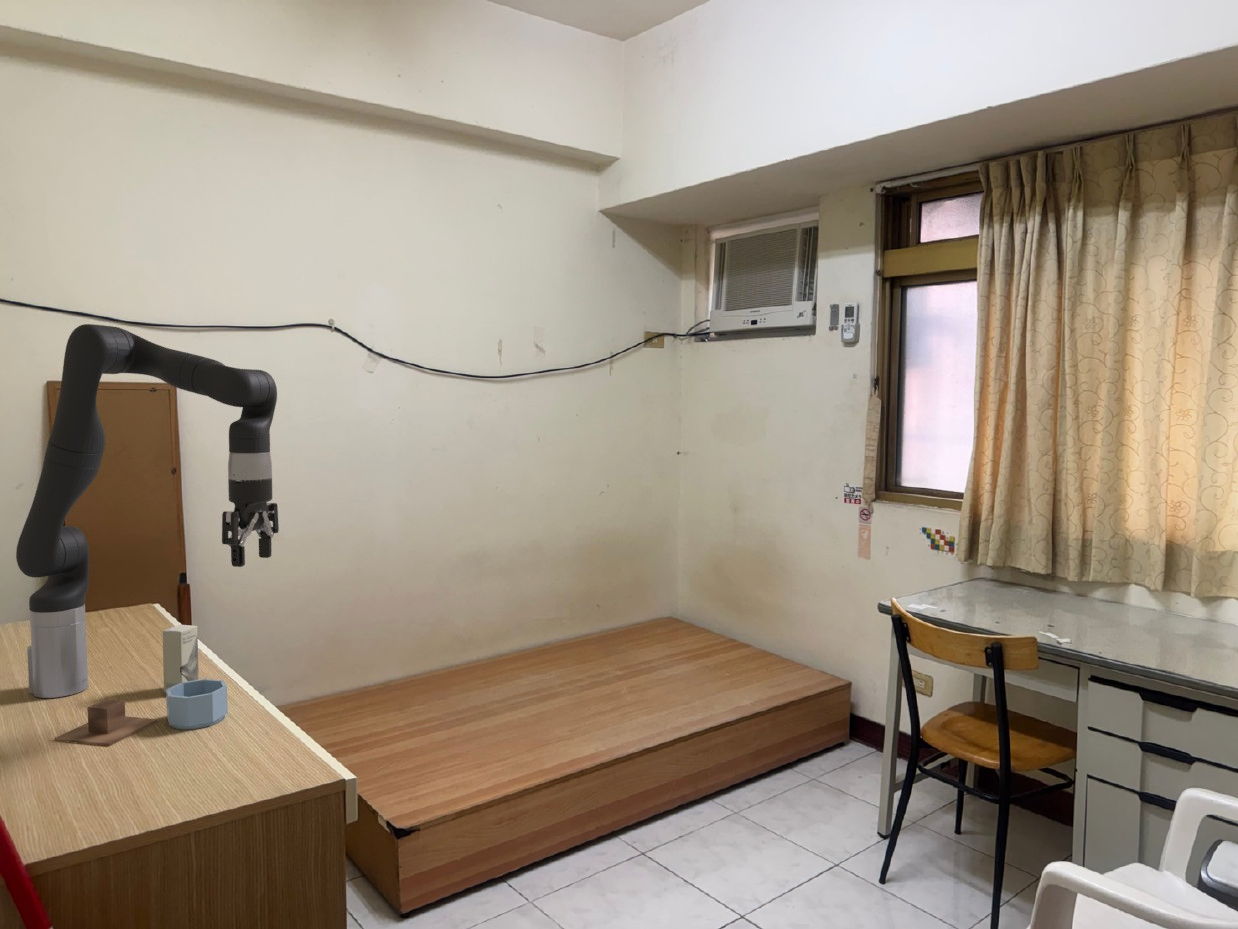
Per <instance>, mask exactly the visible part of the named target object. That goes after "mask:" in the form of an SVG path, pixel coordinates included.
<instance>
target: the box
mask: <svg viewBox="0 0 1238 929" xmlns="http://www.w3.org/2000/svg"><path fill="white" fill-rule="evenodd" d="M198 643H199V642H198V625H189V624H178V625H176V626H172V627H169V628H166V629H164V630H162V656H163V657H162V658H163V659H162V660H163V661H162V662H163V693H166V690H167V689H169V688H171V687H173V686H175V685H177V684H180V683H182V682H188V681H194V680H200V678H199V676H200V675H199V648H198V647H199V644H198Z"/></svg>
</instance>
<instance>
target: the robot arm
mask: <svg viewBox="0 0 1238 929" xmlns="http://www.w3.org/2000/svg"><path fill="white" fill-rule="evenodd" d="M117 374H118V375H119V374H131V375H132V374H134V375H144V376H150V377H153V378H157V379H159V380H161V381H163V382H164V383H165V384H168V385H170V386H172V387H174V388H177V389H179V390H183V391H185V392H189V393H193V394H197V395H199V396H200V395H201V396H205V397H208V398H211V399H212V400H213V401H217V402H218V403H221V404H224V405H227V406H229V407H235V408H242V409H241V414H240V418H239V419H237V420H235V421H233V422H232V423H230V425H229V427H228V461H227V474H228V475H227V481H228V482H227V483H228V484H227V485H228V487H227V489H228V501H229V502H230V503H233V505H234V509H233V511H232V510H231V511H230V510H229V511H227V510H226V511H223V512H222V514H221V515H222V516H221V517H222V518H221V519H222V520H221V521H222V522H221V543H222V545H226V546H229V547H230V557H231V558H230V560H231V561H230V562H231V566H232V567H236V568H242V567H244V566H245V564H246V552H245V551H246V550H245V546H244V545H245V543H246V540H247V538H248V537H249V536H251V534H252V532H253V531H255V532H256V534H257V536H258V537H259V538H258V556H259V558H262V559H264V558H265V559H266V558H267V559H270V558H271V557H272V539H273V538H274V534H278V533H279V530H280V529H279V509H278V503H276V502H271V501H272V500H273V465H272V456H271V432H270V429H271V426H272V422H273V420H274V414H275V410H276V405H277V400H278V388H277V385H276V384H277V383H276V382H275V379H274V378H273V377H272V375H271V374H270V373H269V372H267V371H265V370H262V369H252V368H251V369H247V368H238V367H232V366H227V365H225V364H224V363H223V362H221V361H219V360H216V359H212V358H209V357H205V356H202V355H198V354H195V353H194V354H193V353H190V352H185V351H181V350H176V349H172V348H169V347H165V346H163V345H159V344H156V343H154V342H152V341H150V340H148V339H146V338H144V337H141V336H140V335H137V334H135V333H133V332H130V331H129V330H127V329H124V328H121V327H118V326H113V325H112V326H111V325H104V324H93V323H92V324H91V323H86V324H80V325H78V326H77V327H74V329H73V330H72V332H71V333H70V335H69V337H68V339H67V342H66V346H65V351H64V359H63V366H62V374H61V383H60V391H59V396H58V401H57V404H56V411H55V414H54V418H53V419H54V420H53V424H52V427H51V430H50V435H49V438H48V441H47V444H46V450H45V453H44V458H43V464H42V468H41V473H40V474H39V475H40V476H39V479H38V483H37V487H36V490H35V494H34V497H33V500H32V503H31V507H30V509H29V512H28V514H27V516H26V520H25V522H24V525H23V527H22V530H21V532H20V535H19V538H18V542H17V545H16V552H15V553H16V554H15V559H16V563H17V566H18V568H19V570H20V571H21V572H22V574H24V575H25V576H27V577H29V578H44V577H47V579H46V581H45V583H44V584H43V585H42V586H41V587H40V588H38V589H37V590H36V591H34V593H31V595H30V596H29V599H28V600H29V601H28V602H29V603H28V607H29V622H30V645H29V646H28V647H27V649H26V650H27V655H26V656H27V671H28V672H27V673H28V691H29V692H28V693H29V694H32V695H33V696H34V697H36V698H41V699H53V698H61V697H62V698H63V697H66V696H71V695H72V696H73V695H75V694H77V693H80V692H83V691H85V690H86V689H87V688H89V671H88V647H87V646H88V644H87V642H88V641H87V620H86V594H87V593H88V590H89V585H90V583H89V581H90V578H89V577H90V548H89V543H88V540H87V537H86V536H85V534H84V532H83V531H82V530H81V529H80V528H78V527H77V526H73V525H64V524H65V521H66V519H67V516H68V514H69V512H70V511H71V509H72V508H73V506H74V505H75V504H76V502H77V501H78V500H79V499H80V498H81V496H83V494H84V492H86V490H87V489H88V488H89V487H90V485H92V483H93V481H94V480H95V478H96V477H97V475H98V473H99V470H100V467H101V464H102V460H103V456H104V452H105V448H106V442H107V441H106V440H107V438H106V433H105V430H104V427H103V424H102V420H101V417H100V416H99V412H98V407H97V394H98V389H99V385H100V381H101V378H102V376H103V375H117ZM271 522H272V523H271ZM229 532H230V533H231V534H230V537H229ZM239 536H240V537H239Z"/></svg>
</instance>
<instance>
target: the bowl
mask: <svg viewBox="0 0 1238 929" xmlns="http://www.w3.org/2000/svg"><path fill="white" fill-rule="evenodd" d="M165 694H166V695H165V696H166V698H165V699H166V718H167V721H168V725H169V726H170V728H172V729H176V730H181V731H182V730H186V731H187V730H197V729H204V728H206V727H210V726H214V725H216V724H218V723H220V722H222V721H223V720H224V719H225V718H226V715H228V713H229V712H228V707H229V706H228V686H227V684H226V682H225V680H224V679H223V680H222V679H213V678H202V679H200V678H199V680H194V681H188V682H182V683H180V684H177V685H175V686H173V687H171V688H169V689H167V690H166V692H165ZM224 717H225V718H224Z"/></svg>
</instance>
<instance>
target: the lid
mask: <svg viewBox="0 0 1238 929" xmlns="http://www.w3.org/2000/svg"><path fill="white" fill-rule="evenodd" d="M86 708H87V709H86V710H87V722H85V723H84V724H83V725H82V724H81V725H79V726H78V727H75V728H73V729H71V730H69V731H67V732H64V733H62V734H60V735H58V736H55V737H54V741H55V740H59V741H58V742H63V741H69V742H68V743H73V742H77V744H82V743H85V744H84V745H93V746H100V747H101V746H102V747H111V746H113V745H114V744H117V743H119V742H121V741H123V740H125V739H127V738H129V737H131V736H132V735H134V734H136V733H138V731H139V732H140V731H143V730H145V729H146V728H148V727H150V726H152V725H154V724H156V723H158V719H156V718H148V717H147V718H146V717H145V718H144V717H136V716H127V715H126V701H125V700H120V699H110V698H105V699H103V700H100V701H98V702H96V703H93V704H91V705H89V706H87V707H86Z"/></svg>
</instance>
